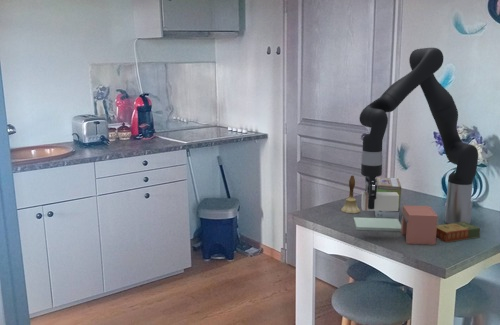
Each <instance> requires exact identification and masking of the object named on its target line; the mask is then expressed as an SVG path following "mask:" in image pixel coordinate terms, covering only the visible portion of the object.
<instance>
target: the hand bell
mask: <svg viewBox="0 0 500 325" xmlns="http://www.w3.org/2000/svg"><path fill="white" fill-rule="evenodd" d="M355 186H356V178H355V175H350V177H349V180H348V187H349V196H348V197H347V198H346V199H345V202H344V205H343V207H341V209H340V210H341V212H342V213H346V214H358V213H360V212H361V210H360V207H358V205H357V199H356V198H355V197H354V189H355Z"/></svg>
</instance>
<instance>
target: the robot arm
mask: <svg viewBox="0 0 500 325" xmlns="http://www.w3.org/2000/svg"><path fill="white" fill-rule="evenodd" d="M408 63H409V66H410V69H411V71H410V72H409V73H407V74H406V75H405V74H404V76H402V77H401V78H400V79H397V80H396V81H395V82H393V83H392V84H391V85H389V87H388V88H387V89H386V90H385V91H384V92H383V93H382V94H381V95H380V96H379V98H376V99H375V100H373V101H372V102H370V103H369V104H368V105H366V106H365V107H364V108H363V109H362V111H361V112H360V114H359V117H358V118H359V123H360V124H361V125H362V126H364V127H366V128H370V132H369V133H368V134H367V133H366V134H365V135H363V138H362V153H361V164H360V166H361V168H360V174H361V175H362V176H364V177H365V178H364V179H365V180H364V185H365V186H364V188H365V191H364V192H367V193H368V209H374V202H375V199H376V193H377V181H376V177H381V176H382V174H383V140H384V137H385V133H386V131H387V127H388V124H389V123H388V122H389V118H388V113H391V112H394V110H396V109H397V107H399V106H400V104H401V103H403V101H404V100H405V99H406V98H407V96H409V95H410V94H411V93H412V92H413V91H414V90H415V89H416V88H418V87H419V86H420V88H421V90H422V93H423V95H424V97H425V99H426V103H427V104H428V107H429V111H430V113H431V116H432V118H433V121H434V122H435V125H436V128H437V130H438V133H439V136H440V137H441V138H440V139H441V142H442V145H443V148H444V152H445V156H446V158H447V160H448V161H449V162H450V163H451V164H452V165H453V164H454V165H456V170H455V171H454V172H451V173H450V174H448V176H447V177H448V179H447V180H448V181H447V191H446V201H445V214H444V222H445V224H452V223H459V222H466V223H469V224H471V222H472V221H471V220H472V211H473V202H472V194H473V193H472V192H473V186H474V185H473V183H474V179H475V177H476V174H477V168H478V162H479V151H478V148H477V147H476V146H475V145H473V144H469V143H465V142H463V141H462V139H461V137H460V135H459V132H458V127H457V126H458V120H459V111H458V108H457V105H456V102H455V100H454V98H453V96H452V95H451V94H450V92H449V91H448V90H447V89H446V88H445V86H444V85H442V84H441V83H440V81H438V79H437V78H436V76H435V73H436V72H437V71H439V70H440V68H442V65H443V64H444V54H443V52H442V50H440V48H438V47H424V48H422V47H421V48H416V49H414V50H413V51H411V53H410V55H409V62H408ZM371 194H373V195H374V196H371Z"/></svg>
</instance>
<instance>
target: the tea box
mask: <svg viewBox="0 0 500 325" xmlns="http://www.w3.org/2000/svg"><path fill="white" fill-rule="evenodd" d="M375 179H376V181H377V192H397V193H398V195H399V207H398V211H374V218H388V219H398V220H399V218H400V207H401V195H402V185H401V182H400V180H399V178H396V177H395V178H394V177H381V176H379V177H376V178H375Z"/></svg>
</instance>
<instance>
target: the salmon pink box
mask: <svg viewBox="0 0 500 325" xmlns="http://www.w3.org/2000/svg"><path fill="white" fill-rule="evenodd" d="M401 213H402V214H401V215H402V216H401V231H400V234H401V235H403V236H405V242H406V244H408V245H430V246H432V245H436V243H437V242H436V241H437V238H436V231H437V225H438V221H439V220H438V218H439V216H438V214H437V213H436V212H435V211H434V209H432V207H431V206H429V205H406V204H405V205H402V212H401Z"/></svg>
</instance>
